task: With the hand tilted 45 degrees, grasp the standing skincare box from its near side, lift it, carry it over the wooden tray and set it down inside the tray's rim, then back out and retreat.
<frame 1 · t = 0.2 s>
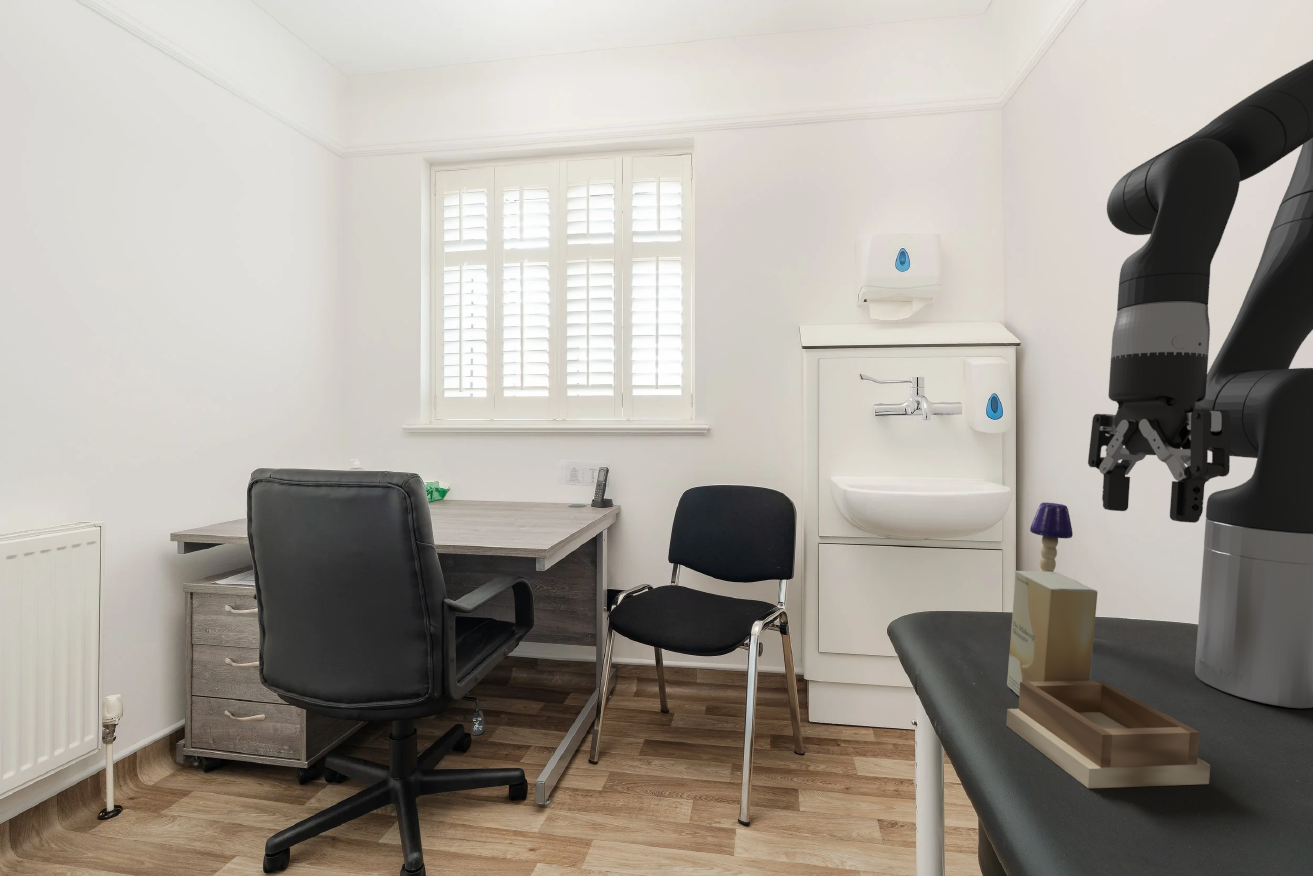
hand: (1147, 515, 60), 18 cm above the table, tool pointing down, fingers open, 8 cm apart
wooden tray: (1099, 752, 50), on the table
skincare box: (1045, 704, 59), on the table
toy lamp: (1044, 631, 79), on the table
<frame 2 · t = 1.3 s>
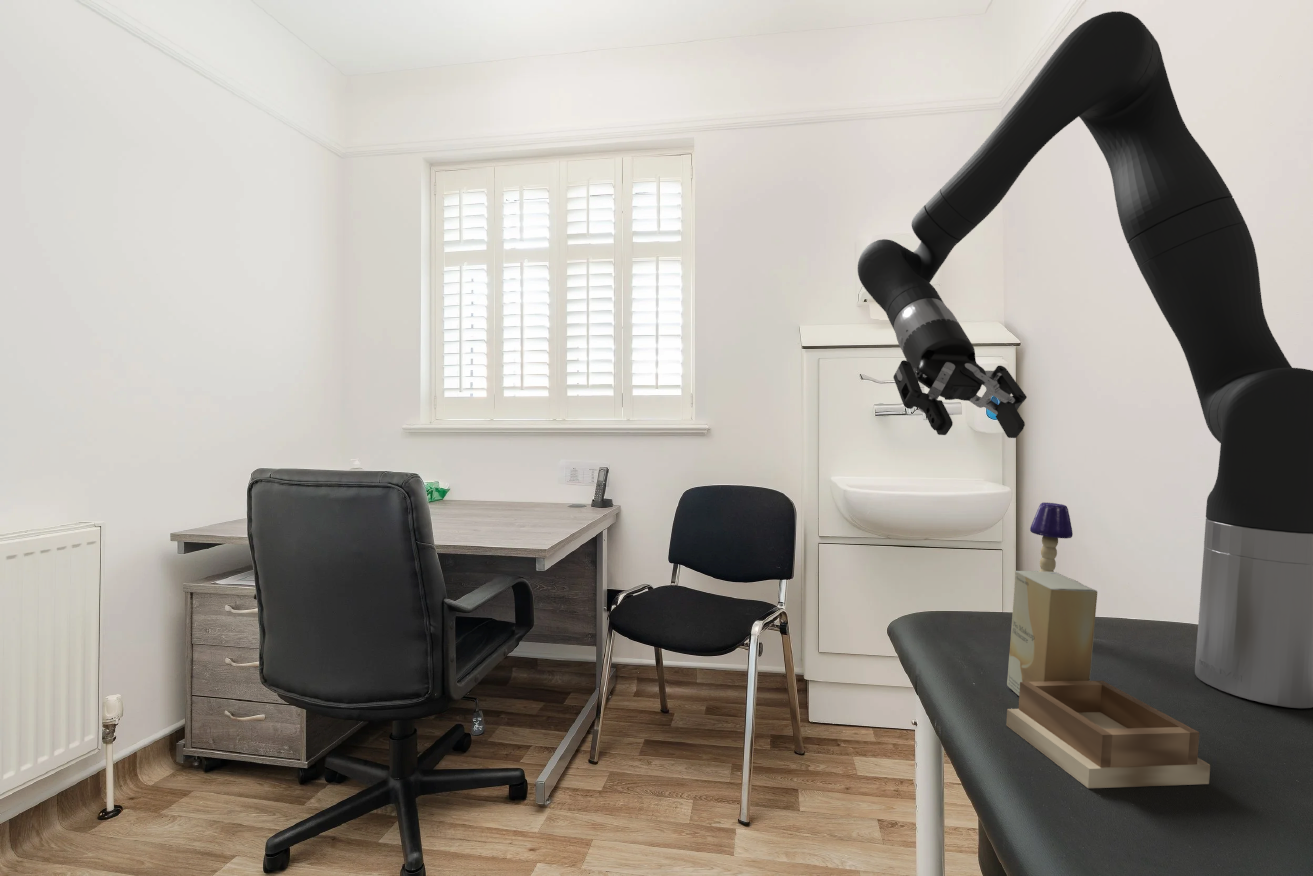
hand: (982, 431, 68), 26 cm above the table, tool tilted 45°, fingers open, 8 cm apart
nothing on the table moved.
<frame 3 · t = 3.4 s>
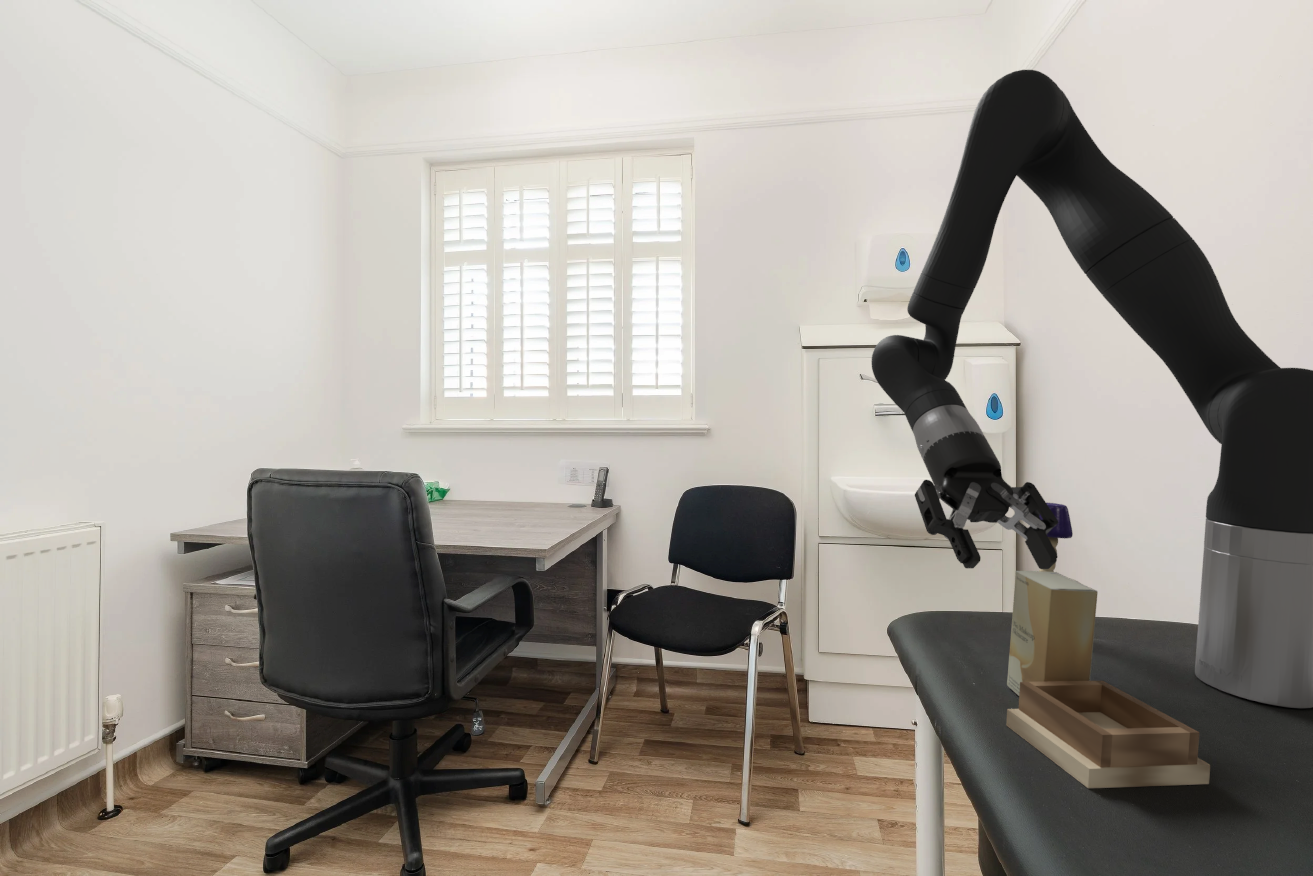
hand: (1011, 565, 64), 12 cm above the table, tool tilted 45°, fingers open, 8 cm apart
nothing on the table moved.
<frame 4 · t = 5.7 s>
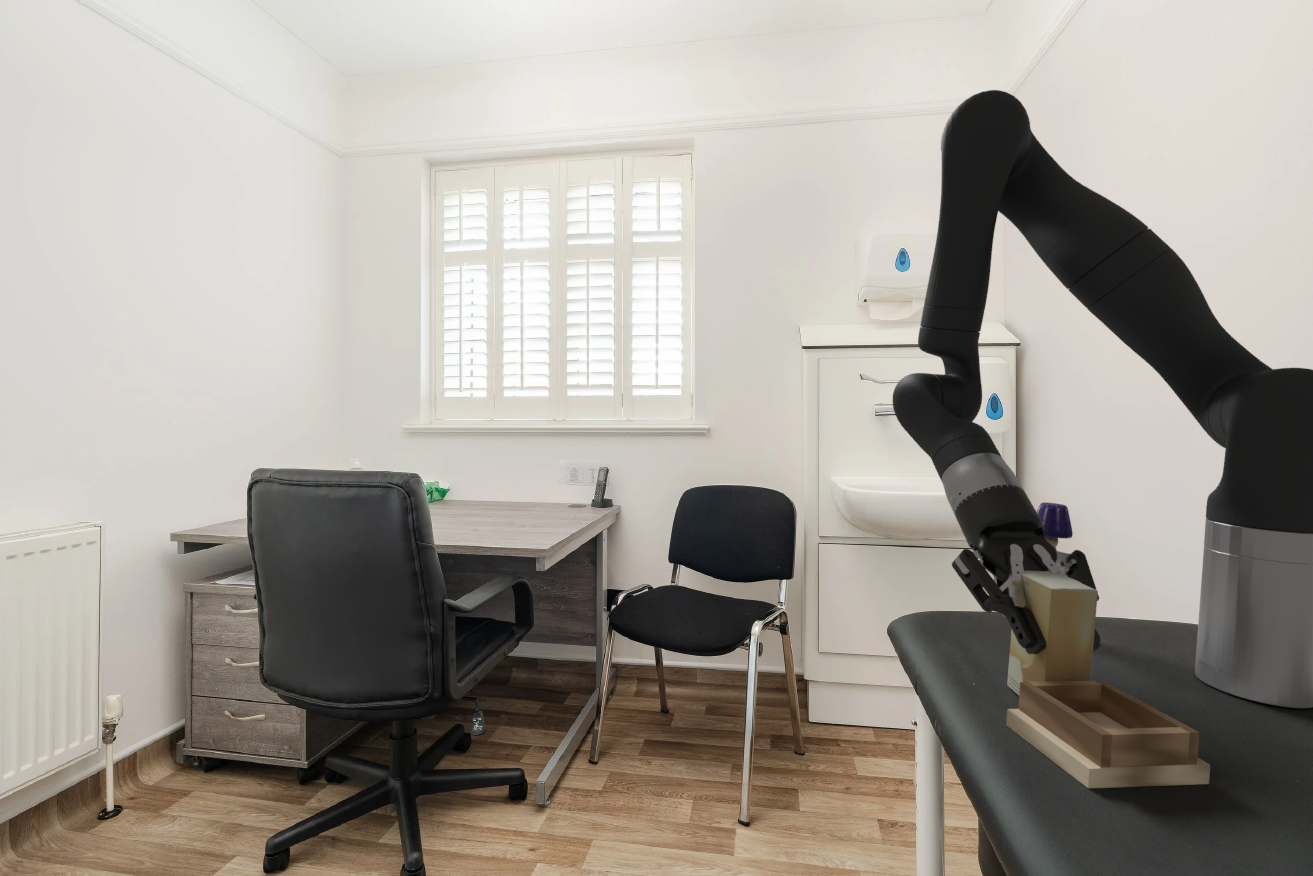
hand: (1064, 649, 56), 6 cm above the table, tool tilted 45°, fingers closed on skincare box, 4 cm apart
skincare box: (1046, 704, 59), on the table, touching gripper
everything else where it was.
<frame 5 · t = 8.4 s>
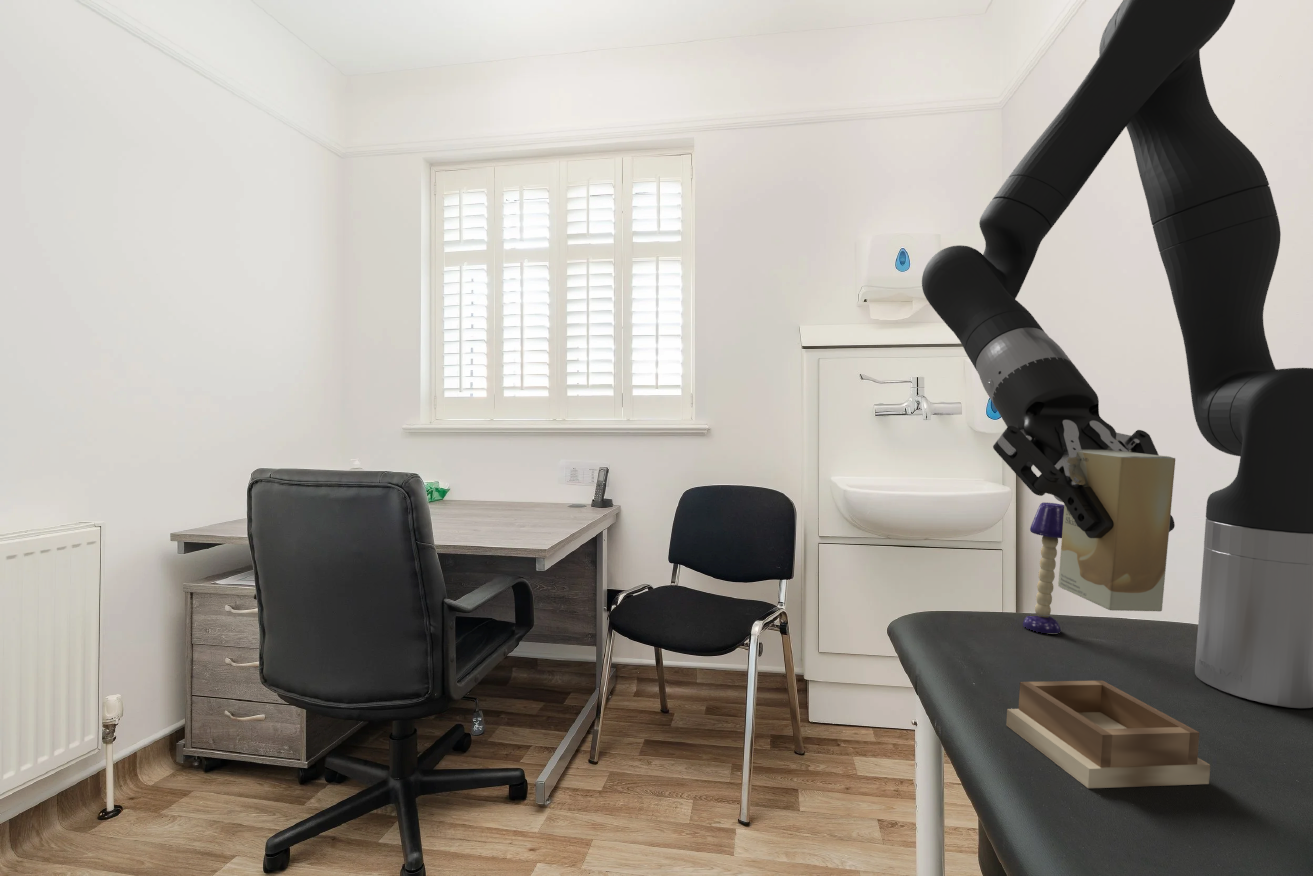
hand: (1132, 532, 47), 19 cm above the table, tool tilted 45°, fingers closed on skincare box, 4 cm apart
skincare box: (1108, 602, 49), point 13 cm above the table, touching gripper
everything else where it was.
when the fingers open (9 cm above the table, at t = 11.0 s): skincare box drops 1 cm, resting on wooden tray.
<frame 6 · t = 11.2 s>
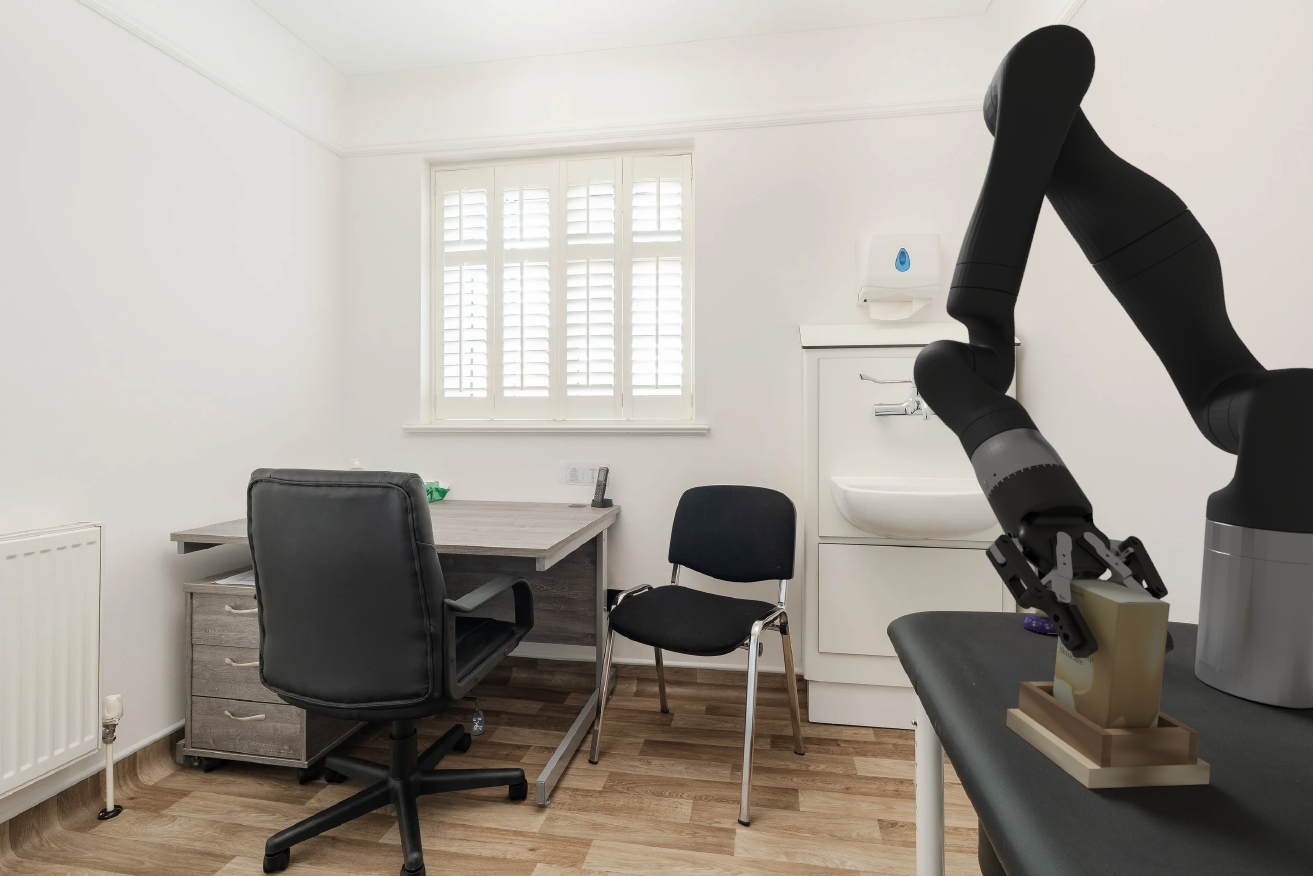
hand: (1125, 653, 48), 9 cm above the table, tool tilted 45°, fingers open, 6 cm apart
skincare box: (1101, 736, 50), point 1 cm above the table, touching wooden tray
everything else where it was.
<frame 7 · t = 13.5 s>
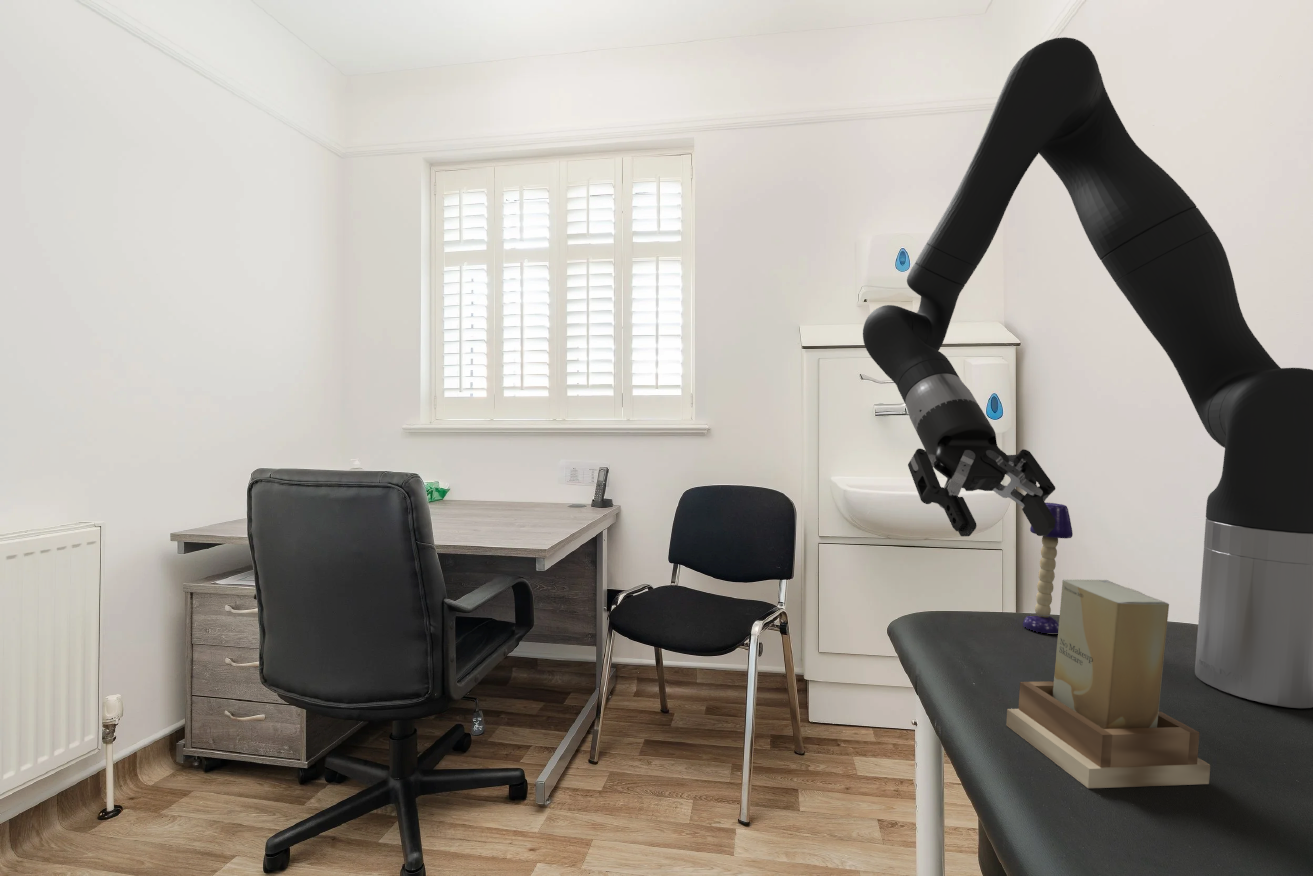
hand: (1008, 532, 62), 16 cm above the table, tool tilted 45°, fingers open, 8 cm apart
nothing on the table moved.
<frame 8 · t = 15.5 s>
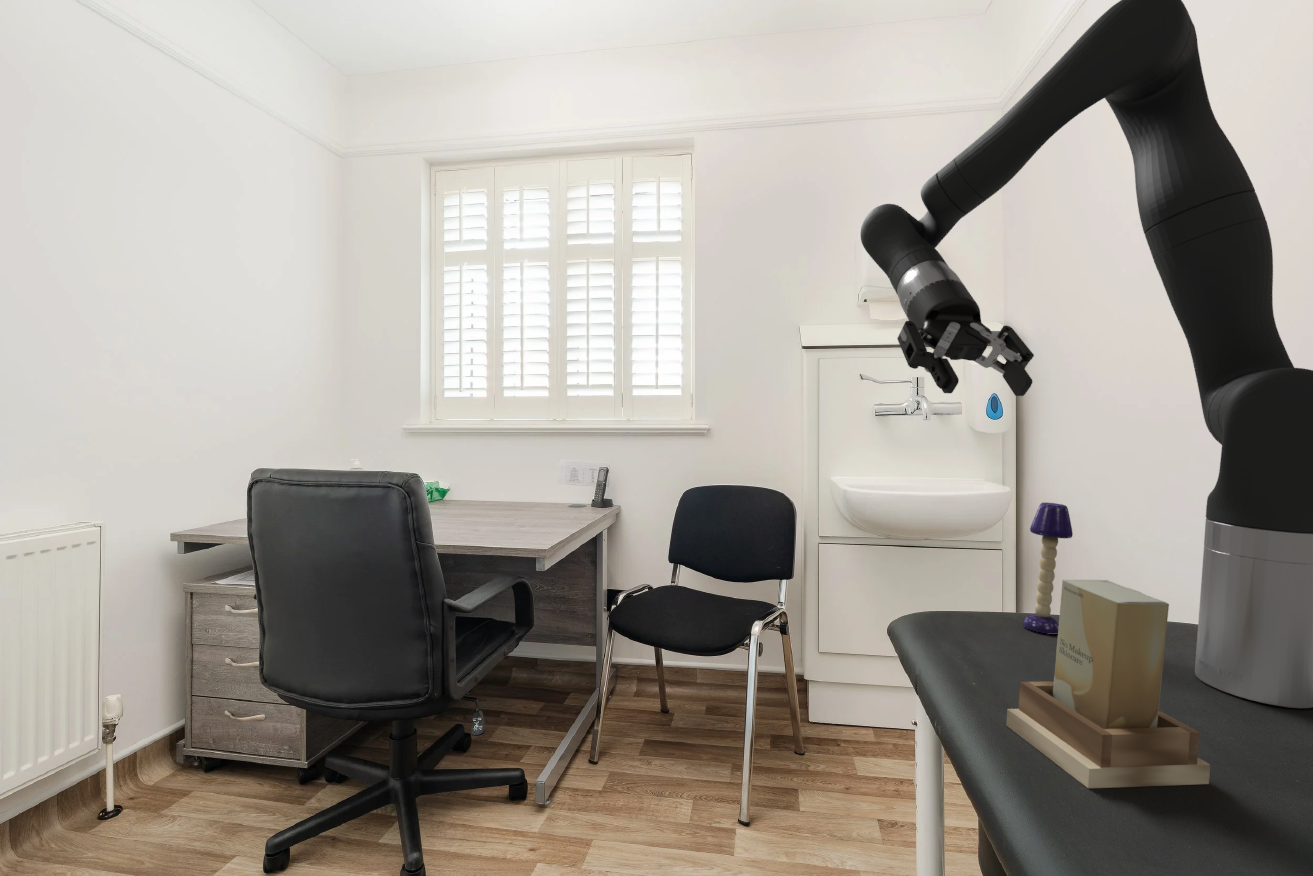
hand: (988, 389, 67), 31 cm above the table, tool tilted 45°, fingers open, 8 cm apart
nothing on the table moved.
at the end: skincare box 0.2 cm from the target spot, point 1.3 cm above the table; skincare box tilted 0°; the gripper is holding nothing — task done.
